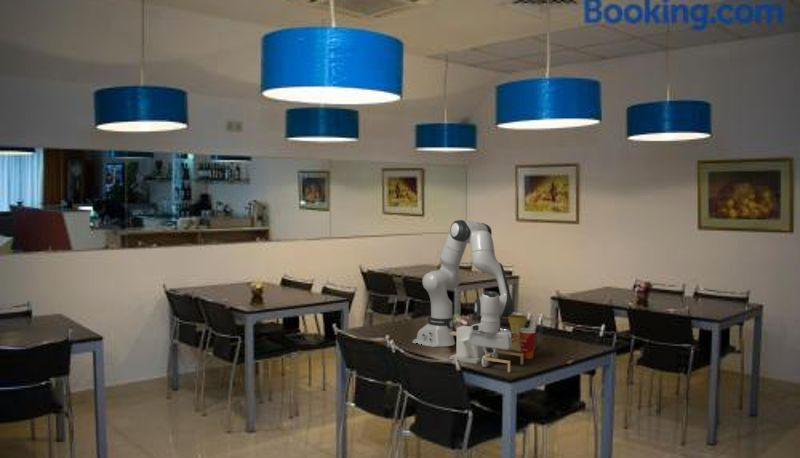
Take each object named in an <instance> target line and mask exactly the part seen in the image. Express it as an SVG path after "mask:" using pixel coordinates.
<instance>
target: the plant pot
mask: <svg viewBox="0 0 800 458" xmlns="http://www.w3.org/2000/svg"><path fill="white" fill-rule="evenodd" d="M507 320H508V321H507V322H508V323H509V330H510V331H511V333H512V335H514V333H515V332H519V331H520V328H526V324H527V322H528V321H527V320H528V318H527V316H526V315H523V314H511V315H510V316H509V317H507Z"/></svg>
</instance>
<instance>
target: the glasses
mask: <svg viewBox="0 0 800 458" xmlns="http://www.w3.org/2000/svg"><path fill="white" fill-rule="evenodd" d="M491 353H493V351H491V352H490V353H489V354H487V355H486V356H485V354H484V356H483V357H482V361H481V366H482V367H483V368H487V367H488V366H489V362H493V363H496V362H497V363H503V364H507V373H511V363H512V362H511V360H505V359H499V354H502V355H511V356H517V357H520V365H522V366H523V365H524V359H523V354H521V352H519V353H518V352H512V351H507V350H505V351H504V350H499V349H497V351H496V353H495V357H494V358H493V357H491Z"/></svg>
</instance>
